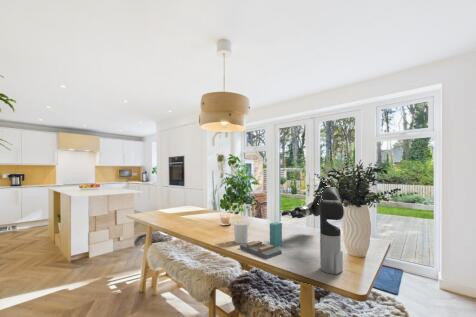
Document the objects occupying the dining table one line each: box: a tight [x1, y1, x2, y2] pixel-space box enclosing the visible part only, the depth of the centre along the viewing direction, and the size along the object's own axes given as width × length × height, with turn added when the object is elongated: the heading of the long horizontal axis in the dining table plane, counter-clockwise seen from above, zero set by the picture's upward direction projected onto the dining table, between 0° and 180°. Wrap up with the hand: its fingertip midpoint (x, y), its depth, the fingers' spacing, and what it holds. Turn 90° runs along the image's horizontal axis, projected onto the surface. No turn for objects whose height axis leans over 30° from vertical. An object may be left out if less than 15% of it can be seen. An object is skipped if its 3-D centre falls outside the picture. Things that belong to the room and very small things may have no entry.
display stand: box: [239, 240, 282, 260], centre depth 143 cm, size 22×12×4 cm, turn 41°
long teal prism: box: [269, 221, 283, 249], centre depth 153 cm, size 4×6×14 cm
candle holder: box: [233, 221, 250, 245], centre depth 161 cm, size 10×10×12 cm
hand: (287, 215), depth 160 cm, fingers open, 8 cm apart
